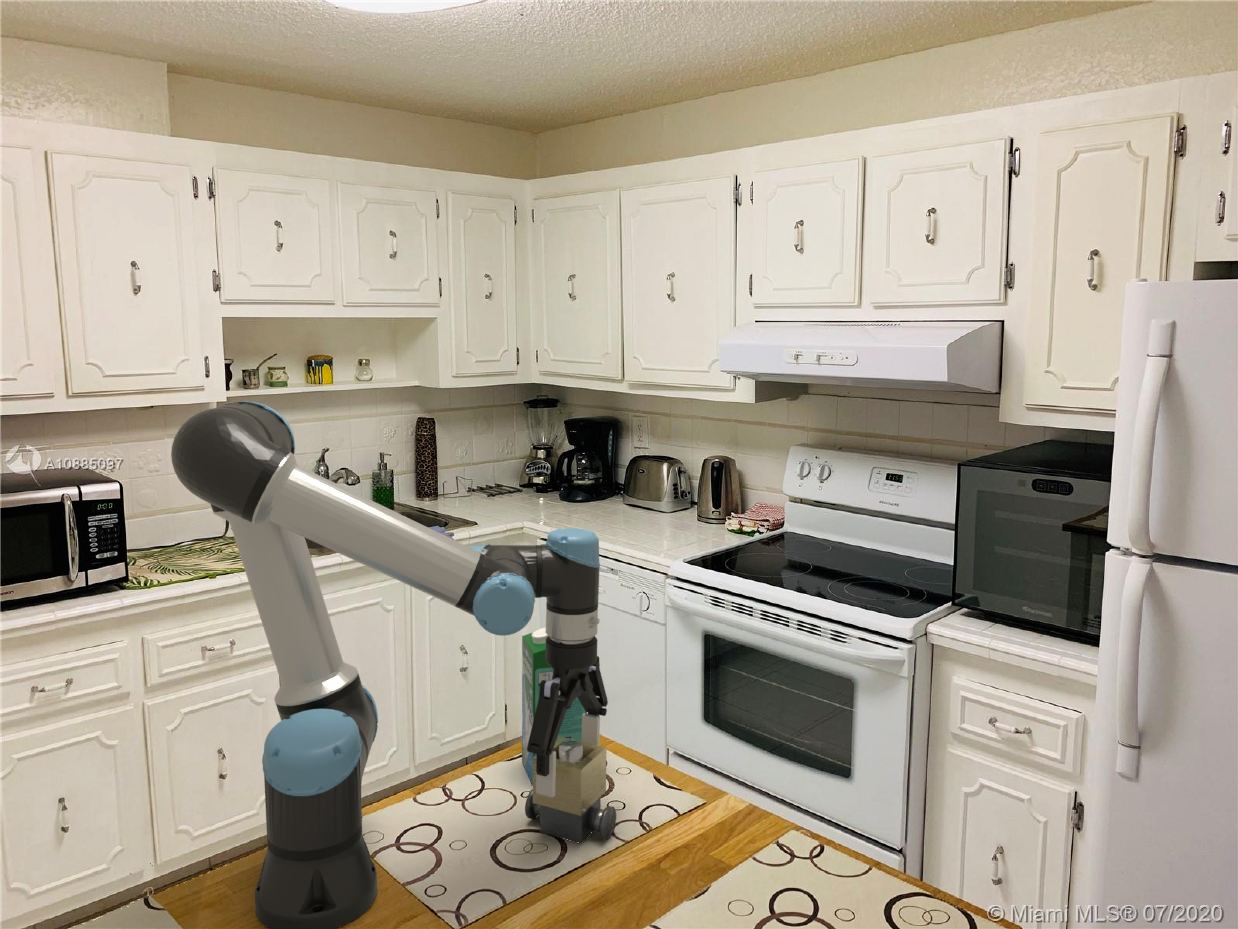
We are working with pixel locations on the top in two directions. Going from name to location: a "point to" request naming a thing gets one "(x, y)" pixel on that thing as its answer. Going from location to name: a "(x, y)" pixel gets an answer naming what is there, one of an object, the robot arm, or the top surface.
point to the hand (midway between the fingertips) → (568, 774)
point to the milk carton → (531, 679)
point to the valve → (567, 822)
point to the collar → (575, 780)
